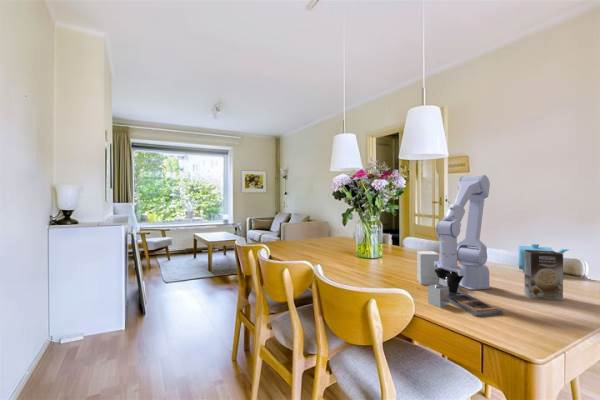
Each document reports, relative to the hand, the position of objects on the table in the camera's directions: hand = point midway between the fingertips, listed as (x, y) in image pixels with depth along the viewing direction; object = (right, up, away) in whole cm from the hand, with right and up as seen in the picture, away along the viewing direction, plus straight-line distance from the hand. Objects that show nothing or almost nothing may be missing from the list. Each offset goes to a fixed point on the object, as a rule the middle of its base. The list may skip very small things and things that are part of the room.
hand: (448, 290), depth 107 cm
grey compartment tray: (+1, -2, -7) cm, 7 cm away
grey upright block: (-8, -2, -8) cm, 12 cm away
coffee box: (+31, -1, -4) cm, 31 cm away
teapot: (+57, -1, +28) cm, 64 cm away
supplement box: (-1, -2, +16) cm, 16 cm away
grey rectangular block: (0, -2, 0) cm, 2 cm away
